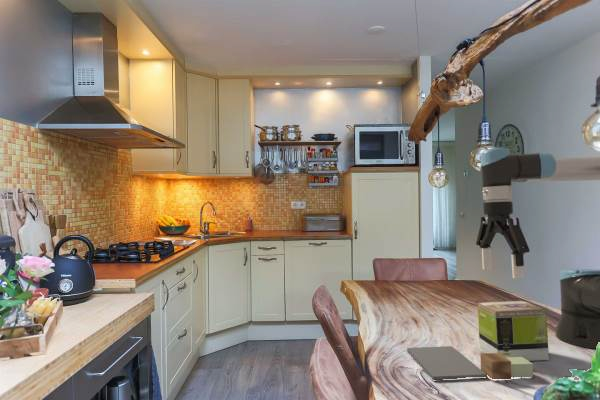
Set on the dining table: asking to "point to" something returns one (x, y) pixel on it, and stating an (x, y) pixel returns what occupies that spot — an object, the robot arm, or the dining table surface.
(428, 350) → the block
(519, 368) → the sage painted block
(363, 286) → the dining table surface
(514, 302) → the tea box
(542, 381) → the dining table surface
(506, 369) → the walnut cube
